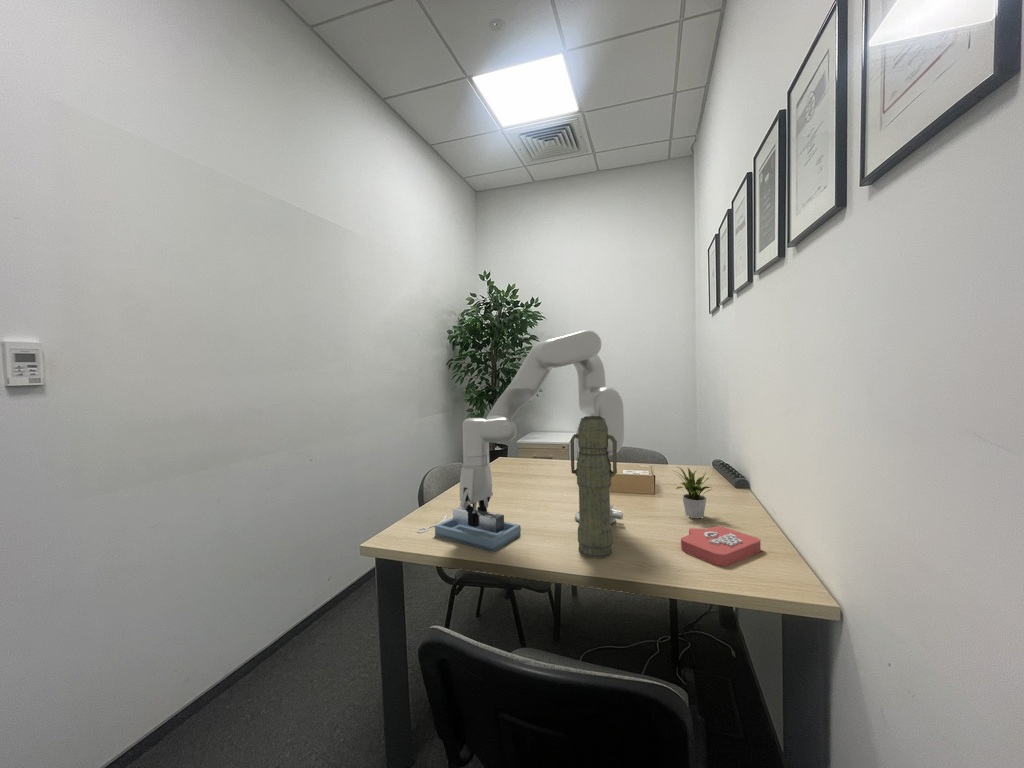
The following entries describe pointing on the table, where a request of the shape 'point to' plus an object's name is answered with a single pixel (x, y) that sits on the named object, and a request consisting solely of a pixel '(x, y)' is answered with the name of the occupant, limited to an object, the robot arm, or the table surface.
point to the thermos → (594, 486)
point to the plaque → (719, 545)
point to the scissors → (433, 525)
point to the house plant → (693, 495)
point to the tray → (477, 535)
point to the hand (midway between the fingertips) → (477, 523)
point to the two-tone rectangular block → (480, 519)
